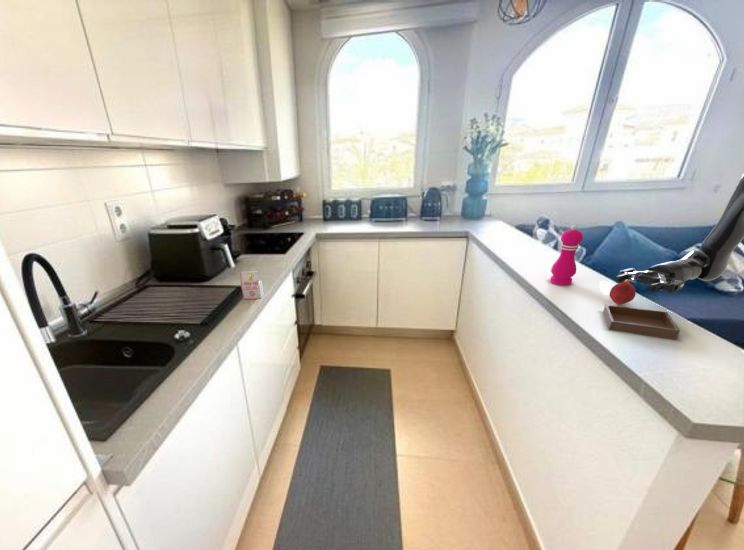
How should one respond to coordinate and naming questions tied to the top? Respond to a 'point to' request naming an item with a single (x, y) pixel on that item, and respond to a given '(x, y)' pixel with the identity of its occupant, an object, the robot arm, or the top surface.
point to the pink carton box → (251, 285)
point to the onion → (622, 293)
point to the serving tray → (640, 321)
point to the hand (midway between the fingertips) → (633, 284)
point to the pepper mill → (566, 257)
